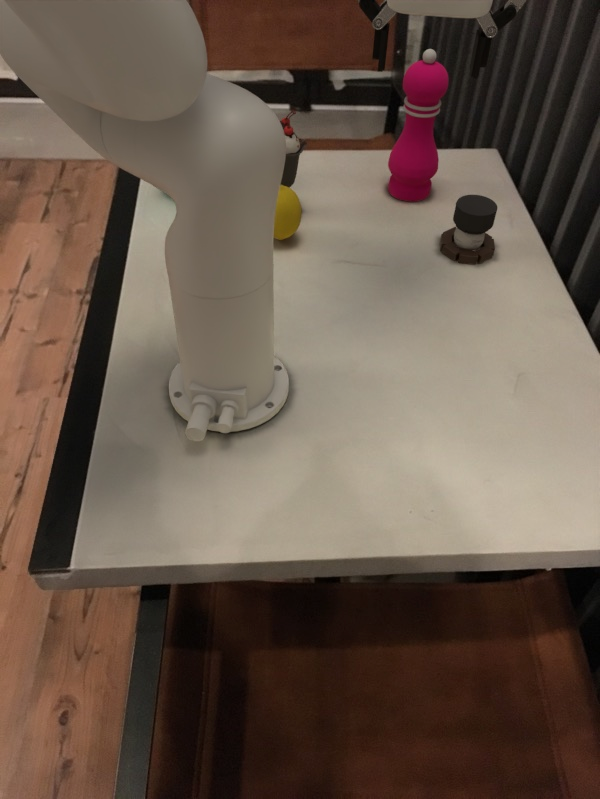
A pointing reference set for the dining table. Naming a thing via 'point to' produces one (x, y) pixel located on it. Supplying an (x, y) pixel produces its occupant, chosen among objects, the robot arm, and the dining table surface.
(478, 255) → the tee ring
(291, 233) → the lemon
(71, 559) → the dining table surface
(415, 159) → the pepper mill
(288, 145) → the sundae
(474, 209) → the puck
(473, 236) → the golf ball
